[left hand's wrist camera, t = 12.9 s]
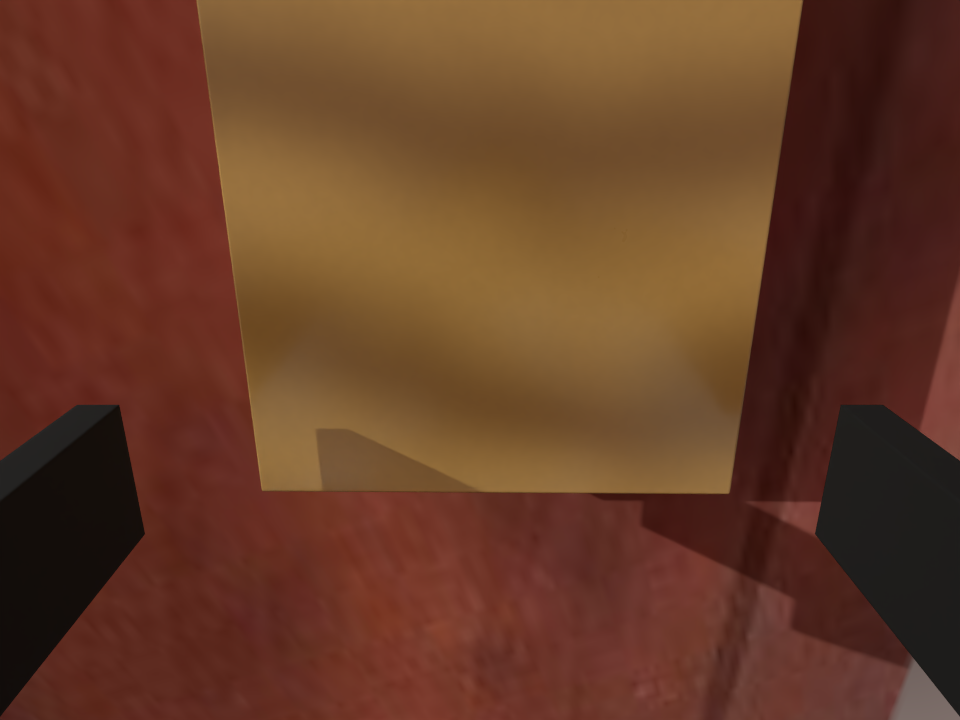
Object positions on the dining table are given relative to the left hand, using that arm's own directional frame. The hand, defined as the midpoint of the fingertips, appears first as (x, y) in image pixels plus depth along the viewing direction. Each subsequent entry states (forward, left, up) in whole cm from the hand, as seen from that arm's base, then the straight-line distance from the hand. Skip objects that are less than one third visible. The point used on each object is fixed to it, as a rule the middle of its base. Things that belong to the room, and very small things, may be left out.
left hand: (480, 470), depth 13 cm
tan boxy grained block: (+6, -1, -11) cm, 12 cm away
